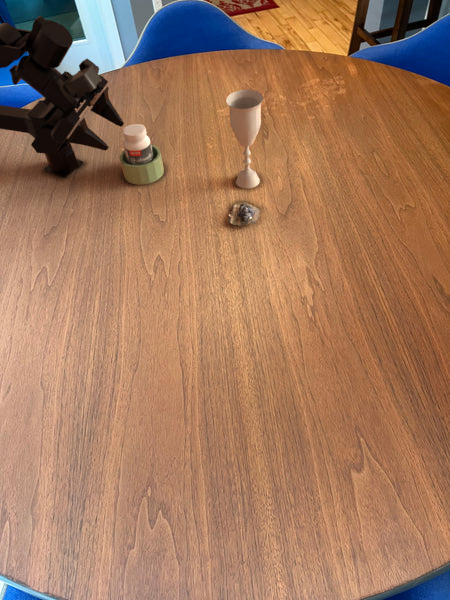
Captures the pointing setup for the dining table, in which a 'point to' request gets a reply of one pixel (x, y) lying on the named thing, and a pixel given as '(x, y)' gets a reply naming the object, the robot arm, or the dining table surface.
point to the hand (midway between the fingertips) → (115, 136)
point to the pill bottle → (137, 145)
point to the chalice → (245, 129)
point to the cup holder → (143, 169)
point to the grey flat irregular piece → (243, 214)
